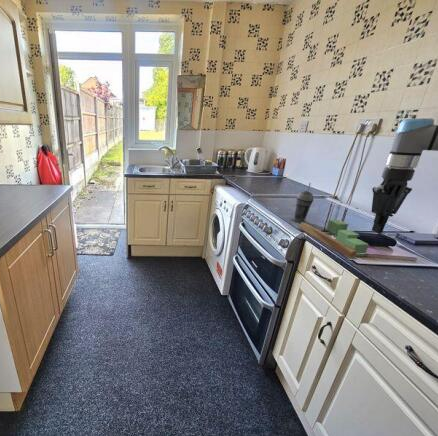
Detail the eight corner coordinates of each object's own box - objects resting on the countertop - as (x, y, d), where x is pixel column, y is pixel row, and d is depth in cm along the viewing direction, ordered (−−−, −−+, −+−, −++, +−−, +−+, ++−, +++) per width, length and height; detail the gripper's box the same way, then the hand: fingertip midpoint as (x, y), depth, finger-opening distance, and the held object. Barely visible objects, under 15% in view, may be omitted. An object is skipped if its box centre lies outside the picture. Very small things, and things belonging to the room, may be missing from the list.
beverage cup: (303, 219, 128) (314, 181, 120) (309, 224, 121) (321, 184, 114) (288, 217, 129) (298, 180, 122) (293, 222, 122) (304, 183, 115)
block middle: (345, 240, 105) (349, 229, 103) (355, 245, 100) (360, 234, 98) (334, 240, 104) (338, 229, 102) (344, 246, 99) (348, 235, 98)
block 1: (336, 229, 115) (339, 219, 113) (344, 234, 111) (348, 224, 109) (326, 230, 115) (329, 220, 113) (334, 234, 110) (337, 224, 108)
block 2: (353, 249, 97) (357, 238, 95) (364, 256, 92) (368, 244, 90) (341, 250, 96) (345, 238, 94) (351, 256, 92) (356, 244, 90)
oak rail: (303, 228, 116) (305, 222, 115) (354, 258, 90) (357, 251, 89) (299, 228, 116) (301, 222, 115) (349, 258, 90) (352, 251, 89)
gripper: (405, 165, 87) (382, 227, 95) (371, 166, 86) (351, 228, 94) (430, 169, 80) (403, 235, 88) (393, 169, 79) (370, 236, 87)
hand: (376, 231), depth 91 cm, fingers closed
